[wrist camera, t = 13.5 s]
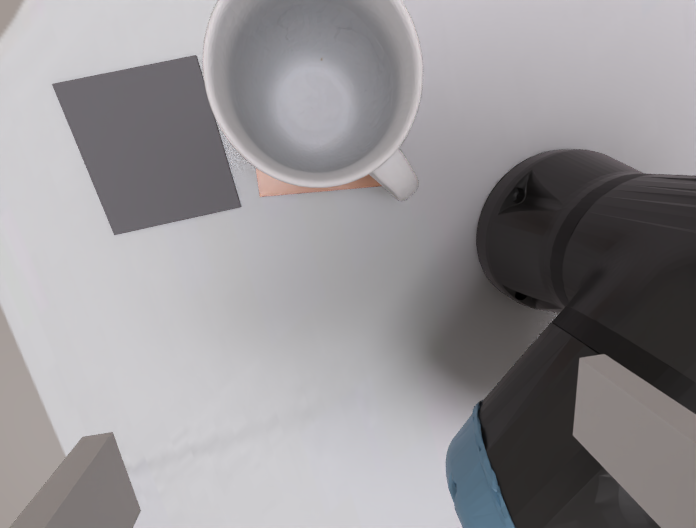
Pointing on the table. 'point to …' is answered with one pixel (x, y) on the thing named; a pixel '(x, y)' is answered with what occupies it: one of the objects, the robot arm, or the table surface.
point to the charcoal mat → (150, 143)
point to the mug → (316, 88)
